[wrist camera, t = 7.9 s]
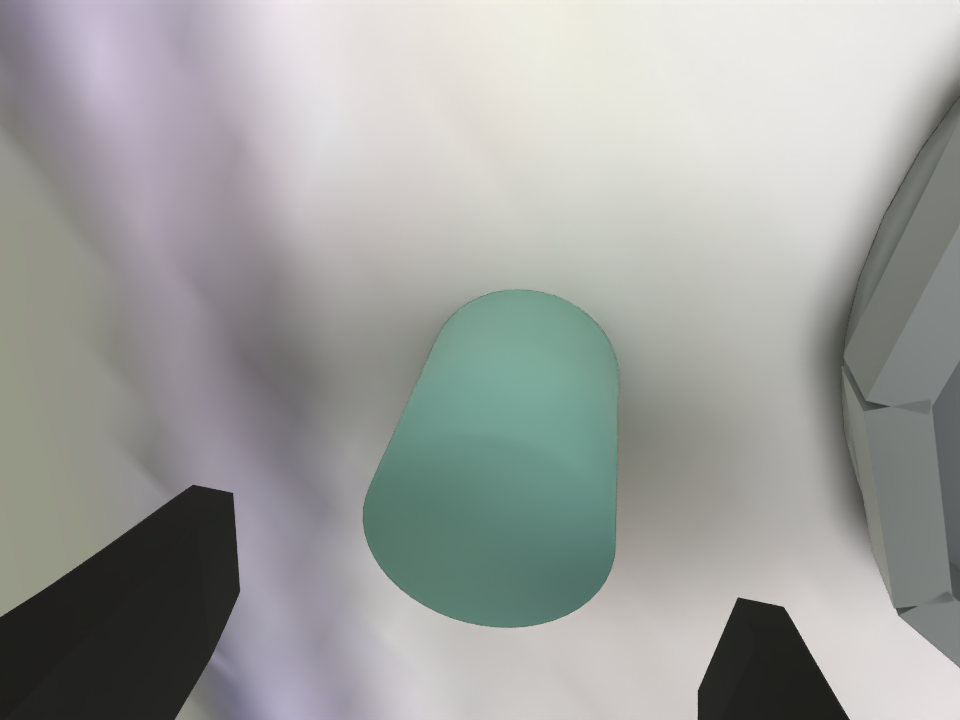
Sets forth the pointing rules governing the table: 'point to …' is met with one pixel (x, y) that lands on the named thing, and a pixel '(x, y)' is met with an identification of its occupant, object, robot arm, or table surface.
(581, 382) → the teal cylinder
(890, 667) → the table surface
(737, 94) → the table surface
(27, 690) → the robot arm
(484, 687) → the table surface
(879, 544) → the ring tray
